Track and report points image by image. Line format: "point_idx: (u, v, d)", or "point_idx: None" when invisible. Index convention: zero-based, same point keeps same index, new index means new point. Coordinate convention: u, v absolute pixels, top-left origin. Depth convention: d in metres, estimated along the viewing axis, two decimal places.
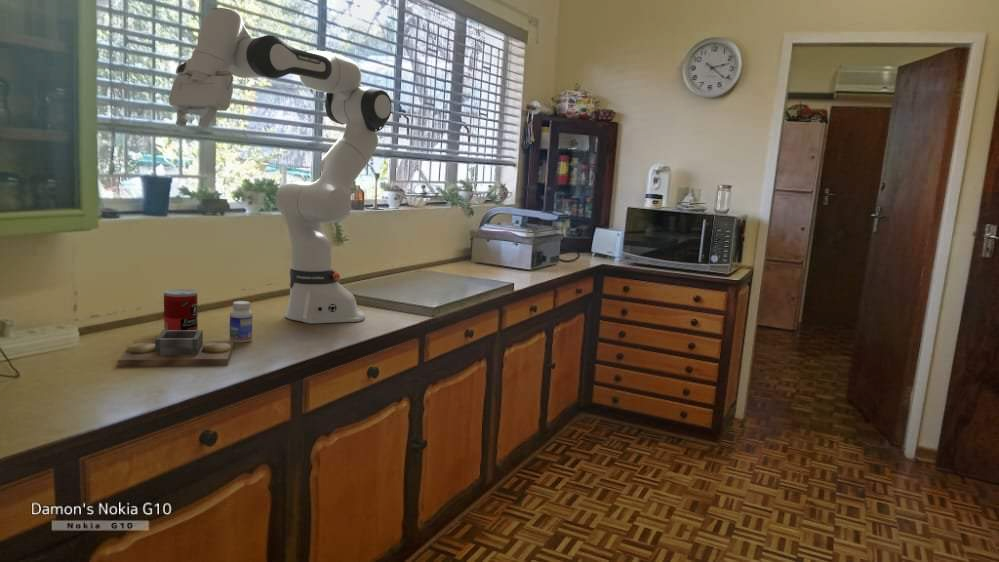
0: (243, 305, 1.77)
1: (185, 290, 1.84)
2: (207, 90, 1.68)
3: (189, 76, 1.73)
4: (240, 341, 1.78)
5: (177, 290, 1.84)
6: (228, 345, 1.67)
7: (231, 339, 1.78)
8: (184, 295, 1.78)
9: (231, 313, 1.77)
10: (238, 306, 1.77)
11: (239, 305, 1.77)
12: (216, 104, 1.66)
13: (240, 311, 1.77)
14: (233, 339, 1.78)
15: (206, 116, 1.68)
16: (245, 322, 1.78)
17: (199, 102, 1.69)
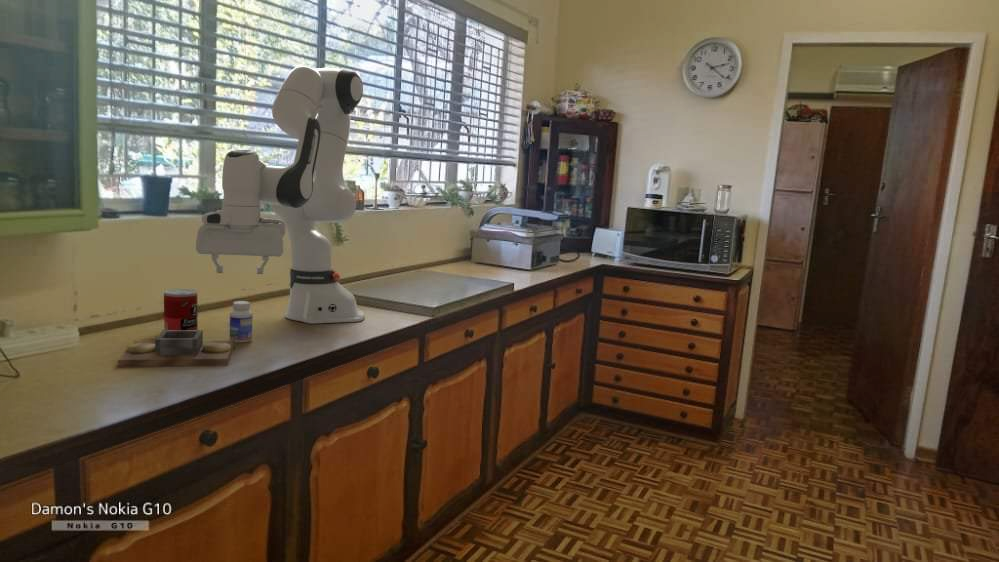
0: (243, 305, 1.77)
1: (185, 290, 1.84)
2: (261, 241, 1.76)
3: (225, 226, 1.73)
4: (240, 341, 1.78)
5: (177, 290, 1.84)
6: (228, 345, 1.67)
7: (231, 339, 1.78)
8: (184, 295, 1.78)
9: (231, 313, 1.77)
10: (238, 306, 1.77)
11: (239, 305, 1.77)
12: (280, 255, 1.78)
13: (240, 311, 1.77)
14: (233, 339, 1.78)
15: None
16: (245, 322, 1.78)
17: (254, 253, 1.76)
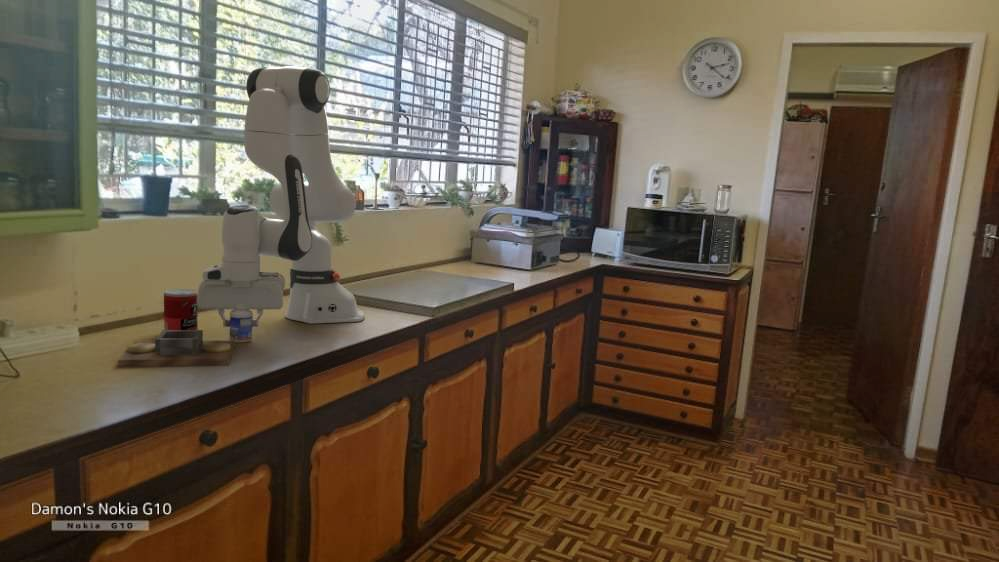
0: (243, 305, 1.77)
1: (185, 290, 1.84)
2: (262, 295, 1.78)
3: (226, 281, 1.75)
4: (240, 341, 1.78)
5: (177, 290, 1.84)
6: (228, 345, 1.67)
7: (231, 339, 1.78)
8: (184, 295, 1.78)
9: (231, 313, 1.77)
10: (238, 306, 1.77)
11: (239, 305, 1.77)
12: (280, 308, 1.80)
13: (240, 311, 1.77)
14: (233, 339, 1.78)
15: (259, 317, 1.80)
16: (245, 322, 1.78)
17: (254, 307, 1.78)
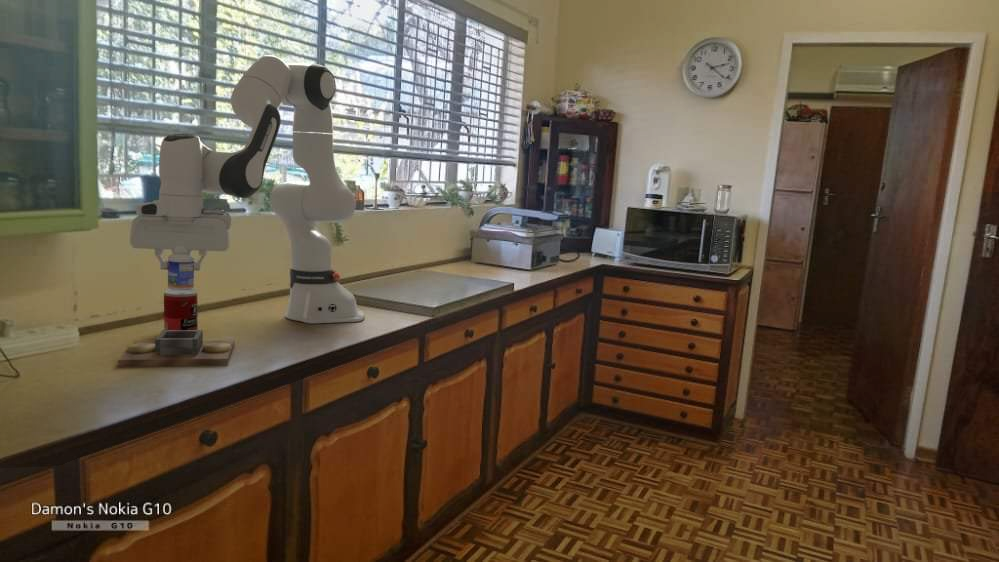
0: (183, 248, 1.59)
1: (185, 290, 1.84)
2: (204, 234, 1.60)
3: (163, 217, 1.56)
4: (179, 288, 1.59)
5: (177, 290, 1.84)
6: (228, 345, 1.67)
7: (169, 286, 1.59)
8: (184, 295, 1.78)
9: (169, 257, 1.59)
10: (177, 249, 1.58)
11: (178, 248, 1.58)
12: (225, 250, 1.62)
13: (179, 255, 1.59)
14: (171, 286, 1.59)
15: (202, 260, 1.61)
16: (185, 267, 1.59)
17: (196, 248, 1.60)
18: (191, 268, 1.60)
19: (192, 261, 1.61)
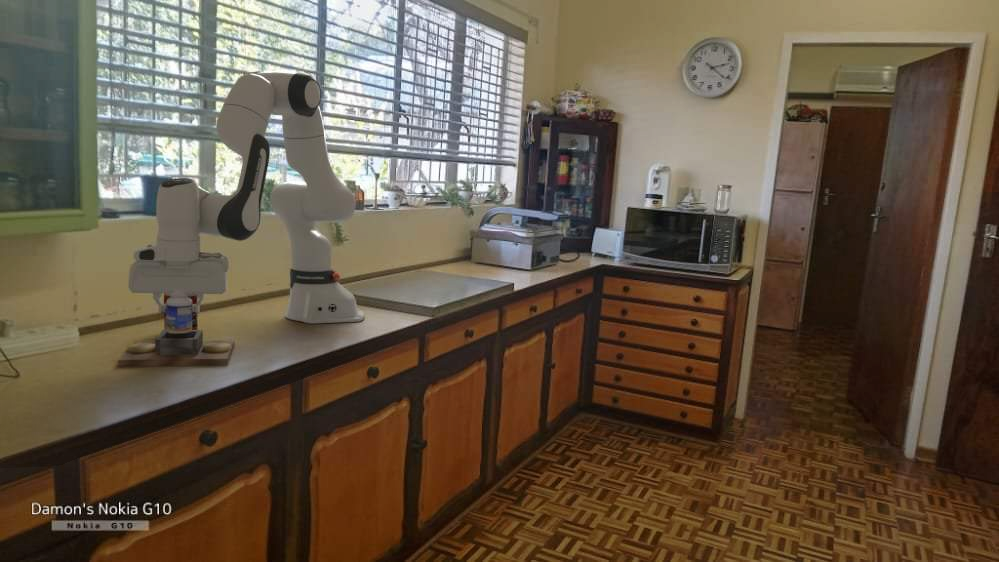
0: (181, 292, 1.60)
1: None
2: (202, 277, 1.61)
3: (161, 262, 1.57)
4: (177, 332, 1.60)
5: None
6: (228, 345, 1.67)
7: (168, 330, 1.61)
8: None
9: (167, 301, 1.60)
10: (175, 293, 1.60)
11: (176, 292, 1.59)
12: (223, 292, 1.63)
13: (177, 299, 1.60)
14: (170, 330, 1.60)
15: None
16: (183, 311, 1.60)
17: (193, 291, 1.61)
18: (189, 311, 1.61)
19: (190, 304, 1.62)
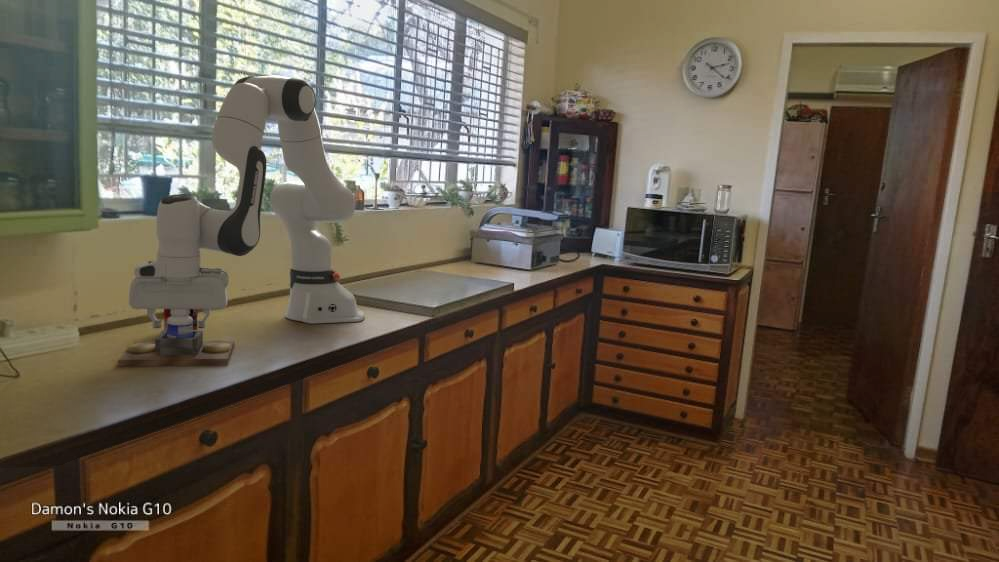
0: (181, 311, 1.61)
1: None
2: (202, 293, 1.61)
3: (161, 278, 1.58)
4: None
5: None
6: (228, 345, 1.67)
7: None
8: None
9: (168, 320, 1.61)
10: (176, 312, 1.60)
11: (177, 311, 1.60)
12: (223, 307, 1.63)
13: (178, 318, 1.61)
14: None
15: (206, 318, 1.63)
16: (184, 330, 1.61)
17: (194, 307, 1.61)
18: (190, 330, 1.62)
19: (191, 323, 1.62)
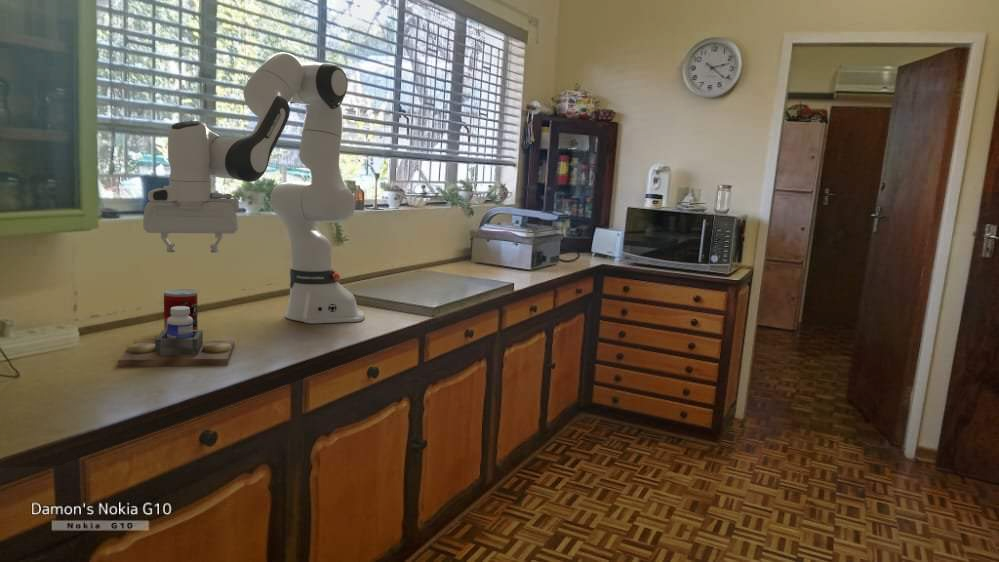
0: (181, 311, 1.61)
1: (185, 290, 1.84)
2: (213, 217, 1.66)
3: (174, 203, 1.63)
4: None
5: (177, 290, 1.84)
6: (228, 345, 1.67)
7: None
8: (184, 295, 1.78)
9: (168, 320, 1.61)
10: (176, 312, 1.60)
11: (177, 311, 1.60)
12: (234, 232, 1.69)
13: (178, 318, 1.61)
14: None
15: (218, 243, 1.69)
16: (184, 330, 1.61)
17: (206, 231, 1.67)
18: (190, 330, 1.62)
19: (191, 323, 1.62)
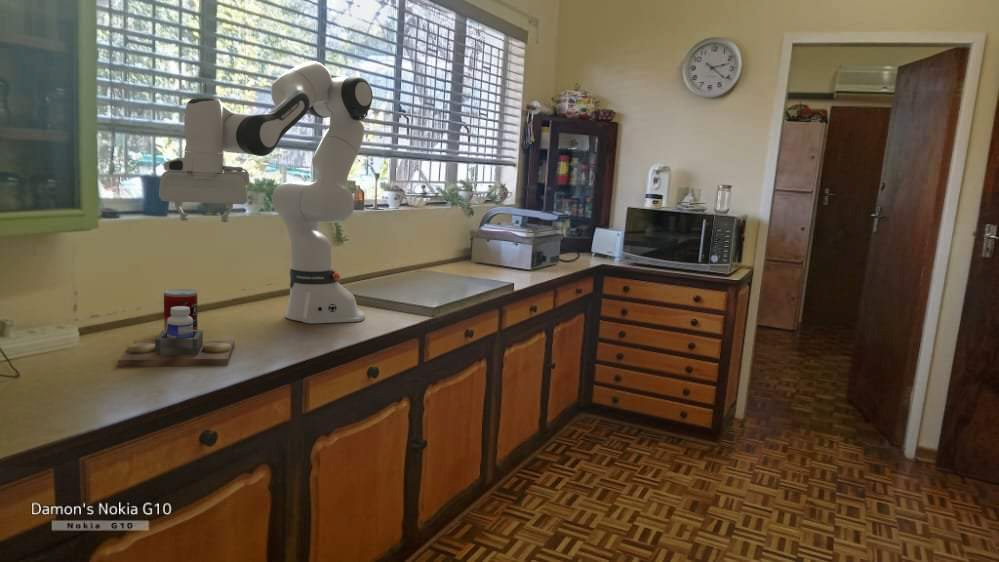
0: (181, 311, 1.61)
1: (185, 290, 1.84)
2: (225, 188, 1.76)
3: (188, 173, 1.73)
4: None
5: (177, 290, 1.84)
6: (228, 345, 1.67)
7: None
8: (184, 295, 1.78)
9: (168, 320, 1.61)
10: (176, 312, 1.60)
11: (177, 311, 1.60)
12: (244, 203, 1.78)
13: (178, 318, 1.61)
14: None
15: (229, 213, 1.79)
16: (184, 330, 1.61)
17: (218, 201, 1.76)
18: (190, 330, 1.62)
19: (191, 323, 1.62)
